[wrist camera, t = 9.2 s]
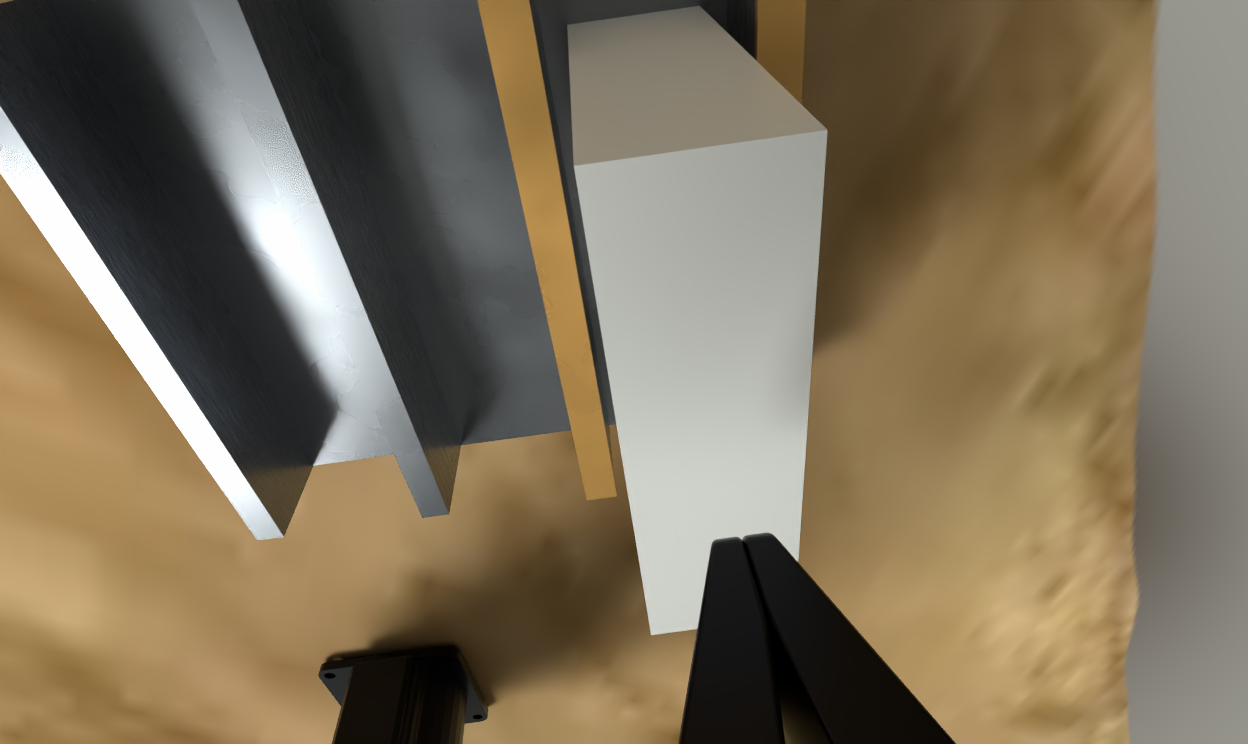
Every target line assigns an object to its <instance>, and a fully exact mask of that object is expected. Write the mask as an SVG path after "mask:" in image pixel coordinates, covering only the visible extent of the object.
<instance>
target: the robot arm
mask: <svg viewBox="0 0 1248 744" xmlns="http://www.w3.org/2000/svg"><path fill="white" fill-rule="evenodd" d="M319 678H320V679H321V680H322V682H323V683H324V684H325V686H326V687H327V688H328V690H329V691H330V692H331V693H332V695H333V696H334V697H335V699H336V700H337V701H338V703H339V704H340V705H341V710H340V714H339V718H338V722H337V726H336V729H335V733H334V737H333V741H332V744H462V742H463V733H464V724H466V723H473V722H480V721H484V720H486V719H487V716H488V707H487V705H486V703H485V701H484V699H483V697H482V695H481V693H480V691H479V689H478V687H477V684H476V682H475V680H474V678H473V676H472V674H471V672H470V670H469V668H468V666H467V664H466V662H465V660H464V658H463V656H462V654H461V652H460V650H459V649H458V648H456V647H454V646H442V647H435V648H427V649H420V650H412V651H405V652H398V653H390V654H383V655H375V656H368V657H361V658H353V659H346V660H338V661H331V662H326V663H323V664H322V665H321V668H320V671H319ZM678 744H956V743H955V742H954V741H953V740H952V738H951V737H950V736H949V735H948V734H947V733H946V732H945V730H944V729H943V728H942V727H941V726H940V725H939V724H938V722H937V721H936V720H935V719H934V718H933V717H932V716H931V714H930V713H929V712H928V711H927V710H926V709H925V707H924V706H923V705H922V704H921V703H920V702H919V701H918V699H917V698H916V697H915V696H914V695H913V694H912V693H911V691H910V690H909V689H908V688H907V687H906V686H905V685H904V683H903V682H902V681H901V680H900V679H899V678H898V676H897V675H896V674H895V673H894V672H893V671H892V670H891V668H890V667H889V666H888V665H887V664H886V663H885V662H884V660H883V659H882V658H881V657H880V656H879V655H878V654H877V652H876V651H875V650H874V649H873V648H872V647H871V645H870V644H869V643H868V642H867V641H866V640H865V639H864V637H863V636H862V635H861V634H860V633H859V632H858V631H857V629H856V628H855V627H854V626H853V625H852V624H851V623H850V621H849V620H848V619H847V618H846V617H845V616H844V615H843V613H842V612H841V611H840V610H839V609H838V608H837V606H836V605H835V604H834V603H833V602H832V601H831V600H830V598H829V597H828V596H827V595H826V594H825V593H824V592H823V590H822V589H821V588H820V587H819V586H818V585H817V584H816V582H815V581H814V580H813V579H812V578H811V577H810V575H809V574H808V573H807V572H806V571H805V570H804V569H803V567H802V566H801V565H800V564H799V563H798V562H797V561H796V559H795V558H794V557H793V556H792V555H791V554H790V553H789V551H788V550H787V549H786V548H785V547H784V546H783V545H782V543H781V542H780V541H779V540H778V539H777V538H776V537H775V536H774V535H773V534H771V533H759V534H752V535H746V536H744V537H743V539H741V538H739V537H729V538H722V539H716V540H714V541H713V542H712V544H711V549H710V555H709V561H708V567H707V573H706V579H705V585H704V591H703V597H702V604H701V610H700V616H699V622H698V628H697V634H696V640H695V646H694V652H693V658H692V664H691V670H690V676H689V682H688V688H687V695H686V701H685V707H684V713H683V719H682V725H681V731H680V737H679V743H678Z"/></svg>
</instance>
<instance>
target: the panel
mask: <svg viewBox="0 0 1248 744" xmlns="http://www.w3.org/2000/svg"><path fill="white" fill-rule="evenodd" d="M567 30H568V52H569V73H570V95H571V117H572V139H573V160H574V171H575V177H576V183H577V189H578V195H579V201H580V207H581V213H582V219H583V225H584V231H585V237H586V243H587V249H588V255H589V261H590V267H591V274H592V280H593V286H594V292H595V298H596V304H597V310H598V316H599V322H600V328H601V334H602V340H603V346H604V352H605V358H606V364H607V370H608V377H609V383H610V389H611V395H612V401H613V407H614V413H615V419H616V425H617V431H618V437H619V443H620V449H621V455H622V461H623V467H624V473H625V479H626V486H627V492H628V498H629V504H630V510H631V516H632V522H633V528H634V534H635V540H636V546H637V552H638V558H639V564H640V570H641V576H642V582H643V589H644V595H645V601H646V607H647V613H648V619H649V625H650V631H651V635H656V634H663V633H671V632H678V631H685V630H693V629H697V628H698V622H699V616H700V610H701V604H702V597H703V591H704V585H705V579H706V573H707V567H708V561H709V555H710V549H711V544H712V542H713V541H714V540H716V539H722V538H729V537H739V538H741V539H743V537H744V536H746V535H752V534H759V533H771V534H773V535H774V536H775V537H776V538H777V539H778V540H779V541H780V542H781V543H782V545H783V546H784V547H785V548H786V549H787V550H788V551H789V553H790V554H791V555H792V556H793V557H794V558H795V559H796V561H797V562H798V557H799V542H800V527H801V513H802V498H803V483H804V468H805V454H806V439H807V424H808V410H809V395H810V380H811V366H812V351H813V336H814V322H815V307H816V292H817V278H818V263H819V248H820V234H821V219H822V204H823V190H824V175H825V160H826V146H827V131H828V130H827V129H826V128H825V127H824V126H823V125H822V124H821V123H820V122H819V121H818V120H817V119H816V118H815V117H814V116H813V115H812V114H811V113H810V112H809V111H808V110H807V109H805V108H804V107H803V106H802V105H801V104H800V103H799V102H798V101H797V100H796V99H795V98H794V97H793V96H792V95H791V94H790V93H789V92H788V91H787V90H786V89H785V88H784V87H783V86H782V85H781V84H780V83H779V82H778V81H777V80H776V79H775V78H774V77H773V76H771V75H770V74H769V73H768V72H767V71H766V70H765V69H764V68H763V67H762V66H761V65H760V64H759V63H758V62H757V61H756V60H755V59H754V58H753V57H752V56H751V55H750V54H749V53H748V52H747V51H746V50H745V49H744V48H743V47H742V46H741V45H740V44H738V43H737V42H736V41H735V40H734V39H733V38H732V37H731V36H730V35H729V34H728V33H727V32H726V31H725V30H724V29H723V28H722V27H721V26H720V25H719V24H718V23H717V22H716V21H715V20H714V19H713V18H712V17H711V16H710V15H709V14H708V13H707V12H706V11H704V10H703V9H702V8H701V7H700V6H694V7H687V8H680V9H673V10H666V11H659V12H652V13H645V14H638V15H631V16H624V17H618V18H611V19H604V20H597V21H590V22H583V23H576V24H569V25H567Z"/></svg>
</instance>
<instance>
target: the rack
mask: <svg viewBox="0 0 1248 744" xmlns="http://www.w3.org/2000/svg"><path fill="white" fill-rule="evenodd" d="M806 1H807V0H0V173H1V174H2V176H3V177H4V179H5V180H6V182H7V183H8V184H9V186H10V187H11V189H12V190H13V192H14V193H15V194H16V196H17V197H18V199H19V200H20V202H21V203H22V204H23V206H24V207H25V209H26V210H27V212H28V213H29V214H30V216H31V217H32V219H33V220H34V222H35V223H36V225H37V226H38V227H39V229H40V230H41V232H42V233H43V235H44V236H45V237H46V239H47V240H48V242H49V243H50V245H51V246H52V247H53V249H54V250H55V252H56V253H57V255H58V256H59V257H60V259H61V260H62V262H63V263H64V265H65V266H66V267H67V269H68V270H69V272H70V273H71V275H72V276H73V277H74V279H75V280H76V282H77V283H78V285H79V286H80V287H81V289H82V290H83V292H84V293H85V295H86V296H87V297H88V299H89V300H90V302H91V303H92V305H93V306H94V307H95V309H96V310H97V312H98V313H99V315H100V316H101V317H102V319H103V320H104V322H105V323H106V325H107V326H108V327H109V329H110V330H111V332H112V333H113V335H114V336H115V337H116V339H117V340H118V342H119V343H120V345H121V346H122V347H123V349H124V350H125V352H126V353H127V355H128V356H129V357H130V359H131V360H132V362H133V363H134V365H135V366H136V367H137V369H138V370H139V372H140V373H141V375H142V376H143V377H144V379H145V380H146V382H147V383H148V385H149V386H150V387H151V389H152V390H153V392H154V393H155V395H156V396H157V397H158V399H159V400H160V402H161V403H162V405H163V406H164V407H165V409H166V410H167V412H168V413H169V415H170V416H171V417H172V419H173V420H174V422H175V423H176V425H177V426H178V427H179V429H180V430H181V432H182V433H183V435H184V436H185V437H186V439H187V440H188V442H189V443H190V445H191V446H192V447H193V449H194V450H195V452H196V453H197V455H198V456H199V457H200V459H201V460H202V462H203V463H204V465H205V466H206V468H207V469H208V470H209V472H210V473H211V475H212V476H213V478H214V479H215V480H216V482H217V483H218V485H219V486H220V488H221V489H222V490H223V492H224V493H225V495H226V496H227V498H228V499H229V500H230V502H231V503H232V505H233V506H234V508H235V509H236V510H237V512H238V513H239V515H240V516H241V518H242V519H243V520H244V522H245V523H246V525H247V526H248V528H249V529H250V530H251V532H252V533H253V535H254V536H255V538H256V539H257V540H264V539H271V538H278V537H284V535H285V533H286V530H287V528H288V525H289V523H290V521H291V518H292V516H293V513H294V511H295V509H296V506H297V504H298V501H299V499H300V497H301V494H302V492H303V489H304V487H305V484H306V482H307V480H308V477H309V475H310V472H311V470H312V468H313V465H320V464H328V463H335V462H342V461H350V460H357V459H364V458H371V457H379V456H386V455H393V454H394V456H395V458H396V460H397V462H398V464H399V467H400V469H401V471H402V473H403V475H404V478H405V480H406V482H407V484H408V487H409V489H410V491H411V493H412V495H413V498H414V500H415V502H416V504H417V507H418V509H419V511H420V513H421V515H422V518H425V517H432V516H439V515H447V514H449V512H450V506H451V500H452V494H453V488H454V483H455V477H456V471H457V465H458V459H459V454H460V448H461V445H466V444H473V443H481V442H488V441H495V440H502V439H510V438H517V437H524V436H532V435H539V434H546V433H553V432H561V431H568V430H572V435H573V439H574V444H575V448H576V453H577V458H578V462H579V467H580V471H581V476H582V480H583V485H584V490H585V494H586V499H587V500H594V499H601V498H608V497H616V496H617V491H616V485H615V480H614V474H613V464H612V453H611V441H610V430H609V425H612V424H616V419H615V413H614V407H613V401H612V395H611V389H610V383H609V377H608V370H607V364H606V358H605V352H604V346H603V340H602V334H601V328H600V322H599V316H598V310H597V304H596V298H595V292H594V286H593V280H592V274H591V267H590V261H589V255H588V249H587V243H586V237H585V231H584V225H583V219H582V213H581V207H580V201H579V195H578V189H577V183H576V177H575V171H574V160H573V139H572V117H571V95H570V73H569V52H568V30H567V25H569V24H576V23H583V22H590V21H597V20H604V19H611V18H618V17H624V16H631V15H638V14H645V13H652V12H659V11H666V10H673V9H680V8H687V7H694V6H700V7H701V8H702V9H703V10H704V11H706V12H707V13H708V14H709V15H710V16H711V17H712V18H713V19H714V20H715V21H716V22H717V23H718V24H719V25H720V26H721V27H722V28H723V29H724V30H725V31H726V32H727V33H728V34H729V35H730V36H731V37H732V38H733V39H734V40H735V41H736V42H737V43H738V44H740V45H741V46H742V47H743V48H744V49H745V50H746V51H747V52H748V53H749V54H750V55H751V56H752V57H753V58H754V59H755V60H756V61H757V62H758V63H759V64H760V65H761V66H762V67H763V68H764V69H765V70H766V71H767V72H768V73H769V74H770V75H771V76H773V77H774V78H775V79H776V80H777V81H778V82H779V83H780V84H781V85H782V86H783V87H784V88H785V89H786V90H787V91H788V92H789V93H790V94H791V95H792V96H793V97H794V98H795V99H796V100H797V101H798V102H799V103H800V104H801V105H802V89H803V67H804V45H805V23H806Z"/></svg>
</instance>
